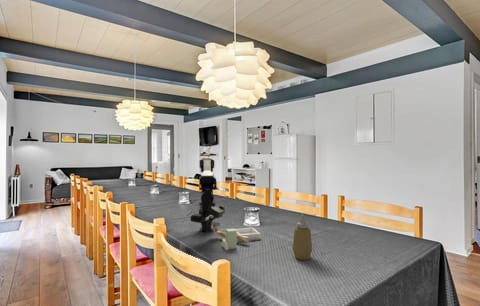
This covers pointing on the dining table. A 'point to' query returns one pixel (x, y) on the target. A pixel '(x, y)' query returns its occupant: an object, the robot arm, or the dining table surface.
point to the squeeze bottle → (302, 240)
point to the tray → (249, 233)
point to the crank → (223, 234)
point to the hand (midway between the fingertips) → (206, 232)
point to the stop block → (231, 238)
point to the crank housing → (226, 243)
